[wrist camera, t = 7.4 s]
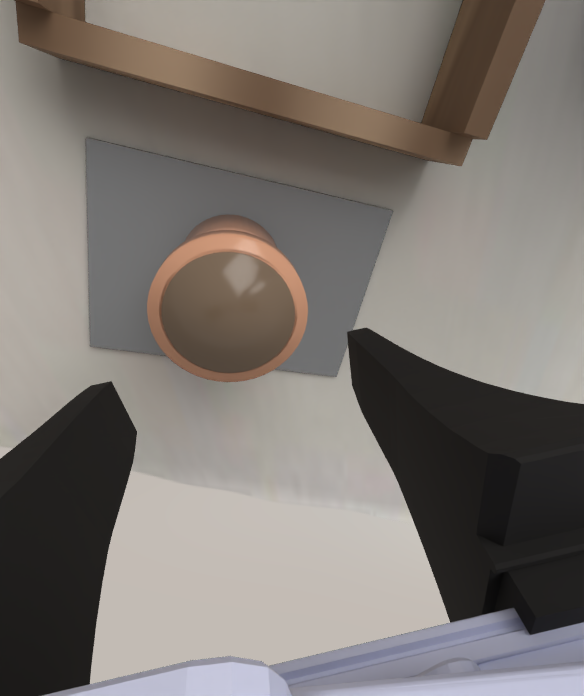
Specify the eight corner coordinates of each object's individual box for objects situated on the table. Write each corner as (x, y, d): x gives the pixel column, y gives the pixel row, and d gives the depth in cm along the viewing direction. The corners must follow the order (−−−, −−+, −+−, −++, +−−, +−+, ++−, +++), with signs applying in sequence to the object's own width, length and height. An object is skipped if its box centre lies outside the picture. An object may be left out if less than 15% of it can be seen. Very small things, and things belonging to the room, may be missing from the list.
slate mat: (391, 210, 19) (393, 210, 19) (335, 375, 24) (336, 376, 23) (87, 137, 16) (85, 137, 16) (91, 344, 20) (90, 346, 20)
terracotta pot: (279, 195, 18) (298, 223, 13) (295, 308, 21) (316, 368, 15) (155, 216, 18) (121, 254, 12) (189, 327, 20) (174, 395, 15)
